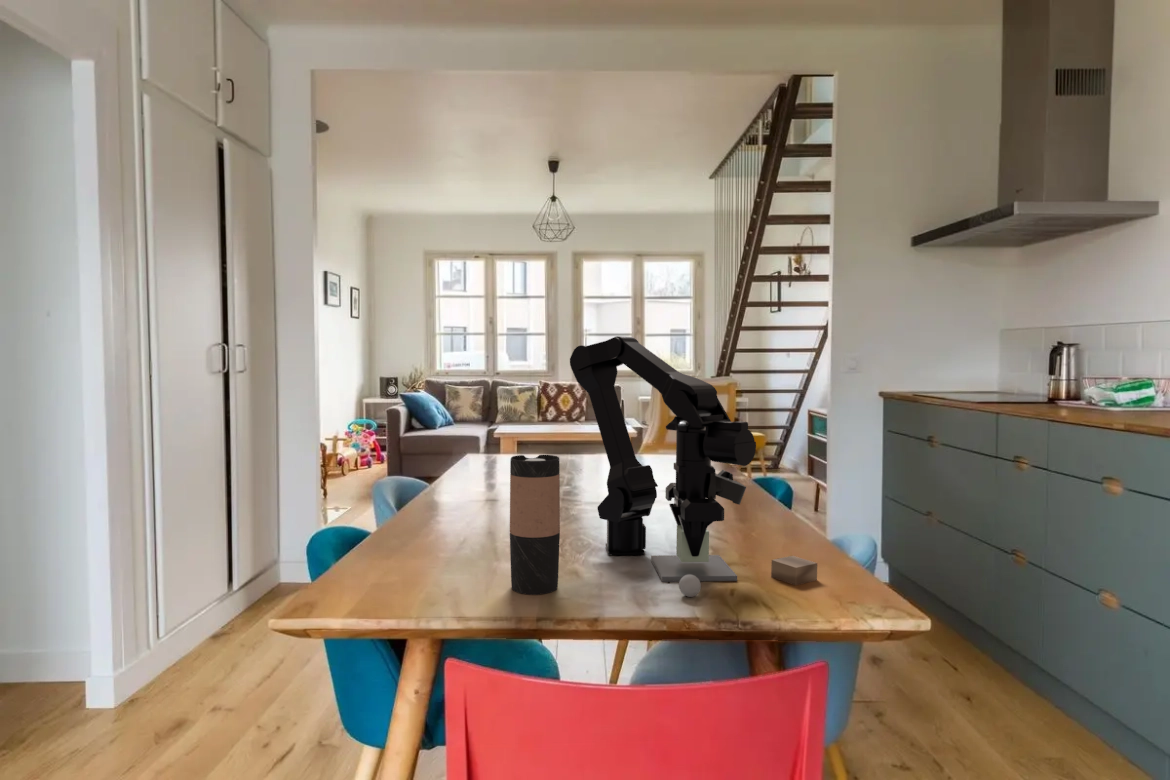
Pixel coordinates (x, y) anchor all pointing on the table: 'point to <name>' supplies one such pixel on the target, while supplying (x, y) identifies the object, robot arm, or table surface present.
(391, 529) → the table surface
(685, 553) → the sage block
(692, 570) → the plate
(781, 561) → the walnut block
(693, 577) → the grey ball
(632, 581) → the table surface
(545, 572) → the travel mug
